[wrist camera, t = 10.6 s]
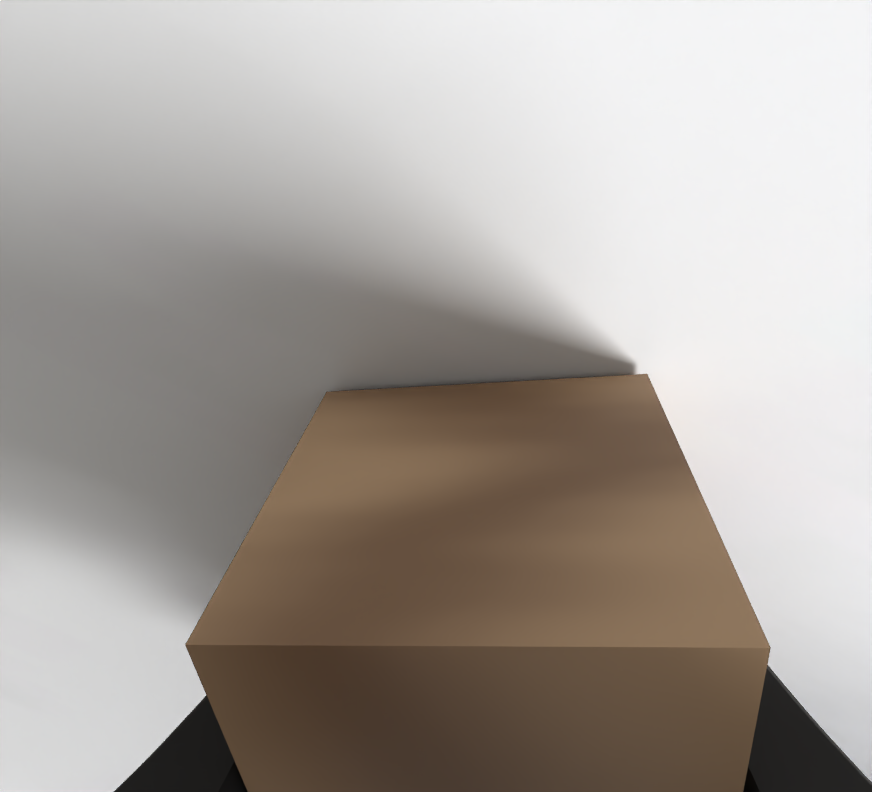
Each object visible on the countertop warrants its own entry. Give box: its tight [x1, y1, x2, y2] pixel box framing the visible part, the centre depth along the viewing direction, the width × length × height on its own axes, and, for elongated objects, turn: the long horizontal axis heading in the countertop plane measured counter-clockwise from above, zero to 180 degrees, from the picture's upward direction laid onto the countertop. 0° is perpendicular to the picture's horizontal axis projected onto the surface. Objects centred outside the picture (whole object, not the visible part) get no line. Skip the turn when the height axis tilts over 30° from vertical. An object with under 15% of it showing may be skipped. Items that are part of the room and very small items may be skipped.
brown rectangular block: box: [185, 374, 770, 792], centre depth 9 cm, size 5×7×5 cm
